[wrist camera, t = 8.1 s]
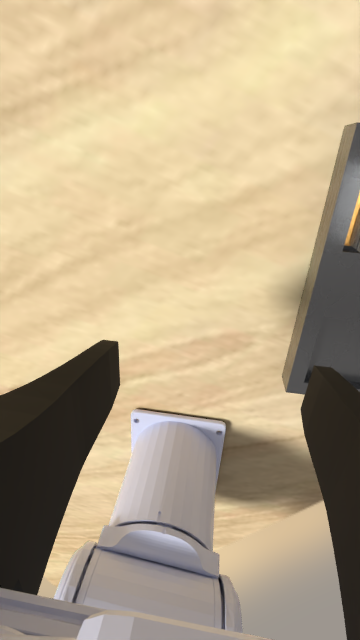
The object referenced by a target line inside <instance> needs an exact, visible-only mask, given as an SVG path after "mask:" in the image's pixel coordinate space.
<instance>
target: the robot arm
mask: <svg viewBox="0 0 360 640" xmlns="http://www.w3.org/2000/svg"><path fill="white" fill-rule="evenodd" d="M119 386H120V374H119V349H118V342H116V341H108V340H102V341H100V342H98V343H96V344H95V345H93V346H92V347H90V348H89V349H87V350H85V351H84V352H82V353H81V354H79V355H78V356H76V357H74V358H73V359H71V360H70V361H68V362H66V363H65V364H63V365H61V366H60V367H58V368H56V369H54V370H52V371H51V372H49V373H47V374H45V375H44V376H42V377H40V378H38V379H36V380H34V381H32V382H30V383H28V384H26V385H24V386H22V387H19V388H17V389H15V390H13V391H10V392H8V393H6V394H3V395H0V640H273V639H268V638H263V637H258V636H253V635H248V634H243V633H242V617H241V608H240V602H239V598H238V595H237V593H236V591H235V589H234V587H233V585H232V582H231V580H230V578H229V577H228V576H226V575H221V574H219V554H218V553H215V552H213V530H214V507H215V492H216V486H217V480H218V474H219V468H220V462H221V456H222V450H223V444H224V438H225V432H226V424H225V423H224V422H223V421H218V420H210V419H203V418H196V417H189V416H182V415H175V414H168V413H161V412H154V411H147V410H139V409H135V410H133V411H132V413H131V444H132V455H131V458H130V461H129V464H128V467H127V470H126V474H125V477H124V480H123V483H122V486H121V489H120V492H119V495H118V498H117V501H116V504H115V507H114V510H113V513H112V516H111V519H110V522H109V525H104V526H103V529H102V532H101V535H100V538H99V541H98V544H97V543H96V542H93V541H87V542H86V543H85V544H84V545H83V546H82V547H80V548H79V549H77V550H76V551H75V552H74V554H73V555H72V557H71V559H70V560H69V562H68V564H67V567H66V569H65V571H64V573H63V576H62V578H61V580H60V583H59V585H58V588H57V591H56V593H55V596H54V599H51V598H47V597H42V596H38V595H37V593H38V590H39V587H40V584H41V581H42V578H43V575H44V572H45V569H46V565H47V562H48V559H49V556H50V553H51V551H52V548H53V545H54V542H55V539H56V536H57V533H58V530H59V527H60V524H61V522H62V519H63V516H64V513H65V511H66V508H67V505H68V503H69V500H70V497H71V494H72V492H73V489H74V487H75V484H76V482H77V479H78V476H79V474H80V471H81V469H82V467H83V465H84V462H85V460H86V458H87V456H88V454H89V452H90V450H91V448H92V446H93V444H94V442H95V440H96V438H97V436H98V434H99V433H100V431H101V429H102V427H103V425H104V423H105V421H106V419H107V417H108V415H109V413H110V411H111V409H112V406H113V404H114V401H115V398H116V395H117V392H118V389H119ZM301 415H302V422H303V428H304V434H305V438H306V441H307V445H308V448H309V452H310V455H311V458H312V462H313V465H314V468H315V472H316V475H317V478H318V482H319V485H320V488H321V492H322V495H323V499H324V503H325V507H326V510H327V516H328V521H329V526H330V532H331V537H332V542H333V548H334V554H335V560H336V566H337V572H338V577H339V584H340V591H341V598H342V605H343V612H344V618H345V627H346V635H347V640H360V392H359V391H358V390H357V389H356V388H355V387H353V386H352V385H351V384H350V383H349V382H348V381H347V380H346V379H345V378H344V377H342V376H341V375H340V374H339V373H338V372H337V371H335V370H334V369H333V368H332V367H323V366H315V365H314V367H313V370H312V373H311V377H310V380H309V383H308V386H307V390H306V393H305V396H304V400H303V403H302V406H301ZM136 419H138V420H136ZM218 431H221V432H218Z"/></svg>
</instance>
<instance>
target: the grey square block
mask: <svg viewBox="0 0 360 640" xmlns="http://www.w3.org/2000/svg"><path fill="white" fill-rule="evenodd" d="M349 245H351V246H352V247H353V248H355V249H356V250H357V251H359V252H360V209H359V212H358V215H357V219H356V222H355V225H354V229H353V232H352V235H351V239H350V242H349Z"/></svg>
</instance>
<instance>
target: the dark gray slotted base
mask: <svg viewBox="0 0 360 640" xmlns="http://www.w3.org/2000/svg"><path fill="white" fill-rule="evenodd" d="M359 209H360V123H354V124H350V125H347V126H345V127H344V131H343V135H342V139H341V143H340V147H339V151H338V155H337V159H336V163H335V167H334V171H333V175H332V179H331V183H330V187H329V191H328V195H327V199H326V203H325V207H324V211H323V215H322V219H321V223H320V227H319V231H318V235H317V239H316V243H315V247H314V251H313V255H312V259H311V263H310V267H309V271H308V275H307V279H306V283H305V286H304V290H303V294H302V298H301V302H300V306H299V310H298V314H297V318H296V322H295V326H294V330H293V334H292V338H291V342H290V346H289V350H288V354H287V358H286V362H285V366H284V370H283V374H282V378H283V383H284V387H285V391H286V392H289V393H297V394H305V393H306V390H307V386H308V383H309V380H310V377H311V373H312V370H313V367H314V365H315V366H323V367H332V368H333V369H334V370H335V371H337V372H338V373H339V374H340V375H341V376H342V377H344V378H345V379H346V380H347V381H348V382H349V383H350V384H351V385H352V386H353V387H355V388H356V389H357V390H358V391H359V392H360V252H359V251H357V250H356V249H355V248H353V247H352V246H351V245H349V242H350V239H351V235H352V232H353V229H354V225H355V222H356V219H357V215H358V212H359Z"/></svg>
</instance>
